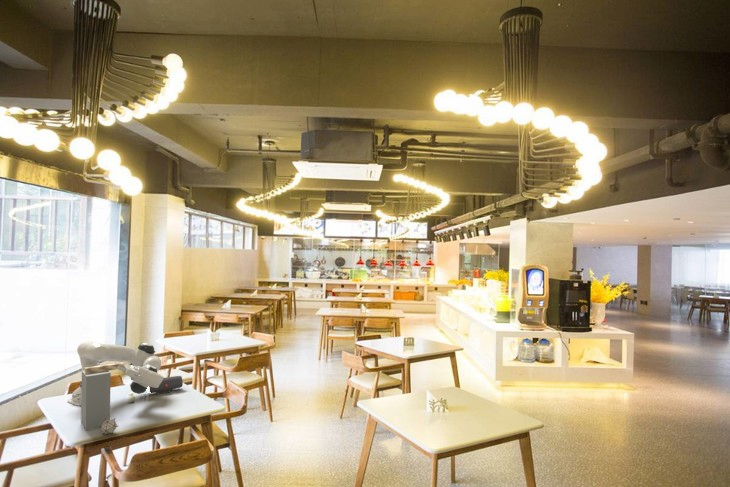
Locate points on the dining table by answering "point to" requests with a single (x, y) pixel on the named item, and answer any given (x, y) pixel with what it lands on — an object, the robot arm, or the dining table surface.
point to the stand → (95, 399)
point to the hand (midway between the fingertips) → (115, 365)
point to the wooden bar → (103, 368)
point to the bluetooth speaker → (168, 384)
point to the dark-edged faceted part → (108, 426)
